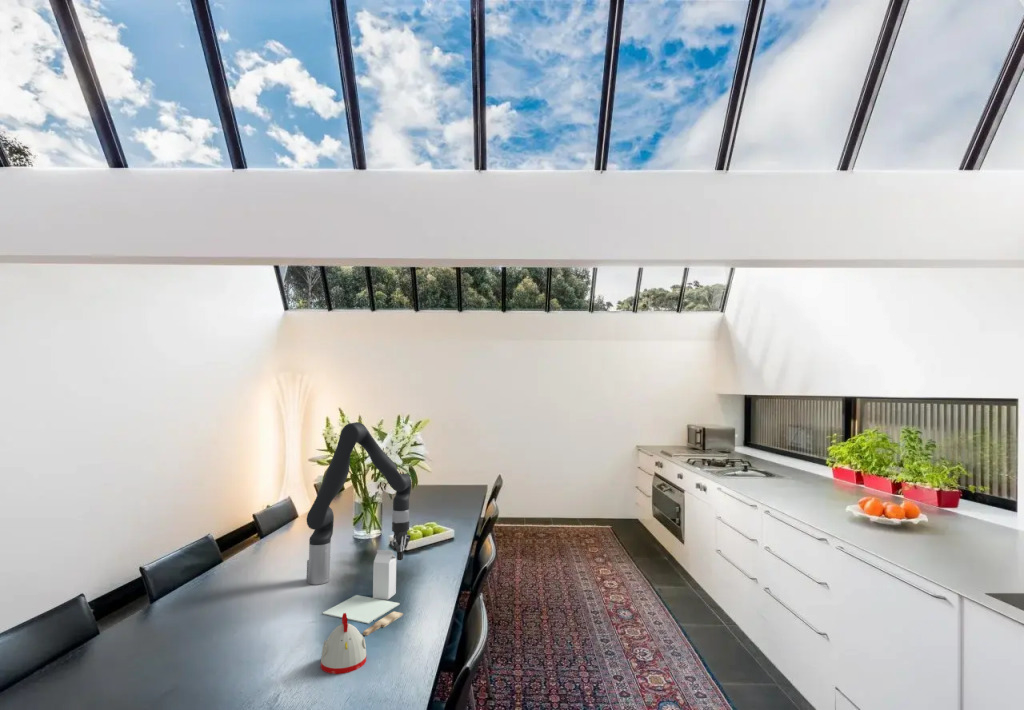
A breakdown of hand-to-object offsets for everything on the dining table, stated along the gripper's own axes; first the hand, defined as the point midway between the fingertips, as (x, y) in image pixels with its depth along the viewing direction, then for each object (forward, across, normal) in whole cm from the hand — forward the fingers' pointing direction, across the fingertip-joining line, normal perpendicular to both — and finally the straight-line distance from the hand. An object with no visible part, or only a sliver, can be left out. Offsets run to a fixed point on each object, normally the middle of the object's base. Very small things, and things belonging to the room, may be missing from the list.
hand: (400, 559), depth 236 cm
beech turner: (+12, +33, +16) cm, 38 cm away
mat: (+12, +26, 0) cm, 28 cm away
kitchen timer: (+12, +62, +22) cm, 66 cm away
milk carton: (+12, +11, 0) cm, 16 cm away
